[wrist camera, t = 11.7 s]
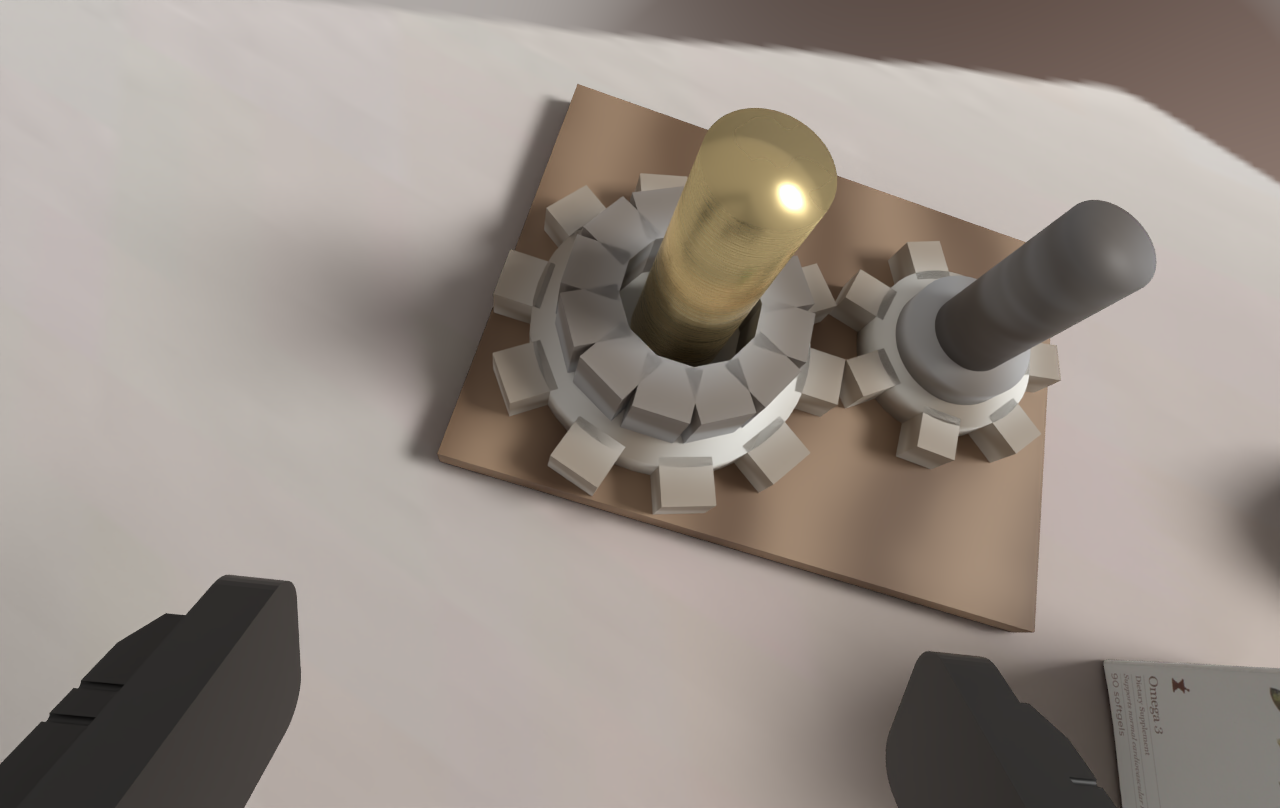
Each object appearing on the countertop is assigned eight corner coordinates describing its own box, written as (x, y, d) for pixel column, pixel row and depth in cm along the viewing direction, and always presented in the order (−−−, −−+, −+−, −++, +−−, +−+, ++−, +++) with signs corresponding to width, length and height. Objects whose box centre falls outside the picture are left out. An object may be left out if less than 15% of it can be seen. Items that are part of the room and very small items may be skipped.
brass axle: (619, 357, 26) (685, 201, 17) (643, 276, 27) (717, 89, 18) (710, 386, 26) (825, 249, 17) (730, 305, 28) (846, 135, 18)
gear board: (440, 461, 26) (401, 353, 16) (575, 102, 33) (607, -135, 23) (1013, 632, 28) (1293, 630, 18) (1036, 264, 35) (1254, 113, 25)
